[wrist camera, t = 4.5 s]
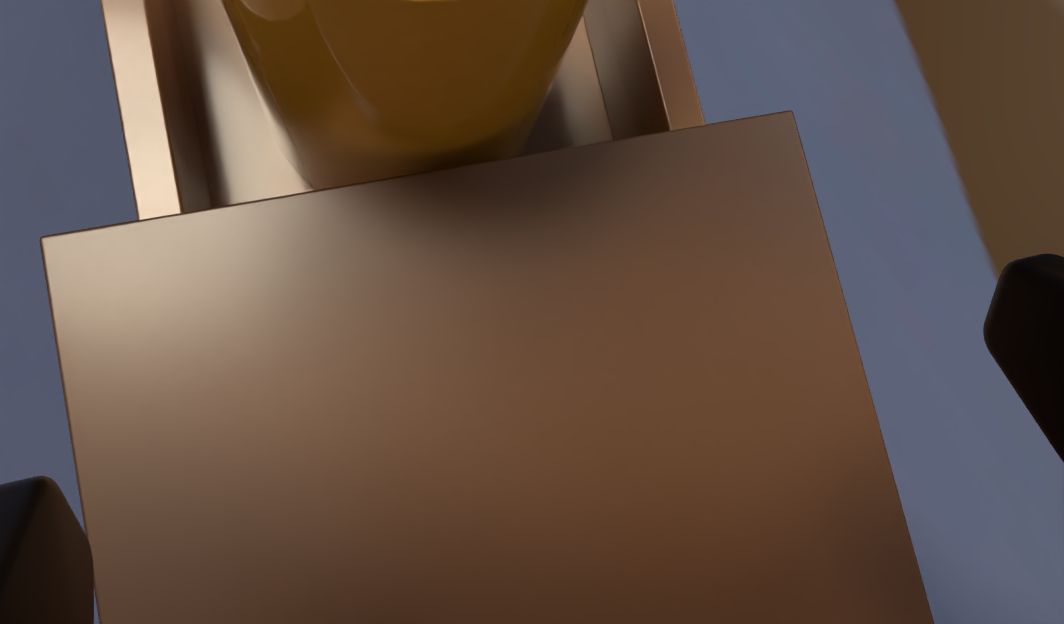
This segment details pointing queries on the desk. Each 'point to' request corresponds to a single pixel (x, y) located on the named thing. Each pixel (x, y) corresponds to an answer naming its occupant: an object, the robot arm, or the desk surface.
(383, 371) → the cabinet
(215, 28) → the drawer
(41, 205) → the desk surface
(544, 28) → the bottle
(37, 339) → the desk surface
